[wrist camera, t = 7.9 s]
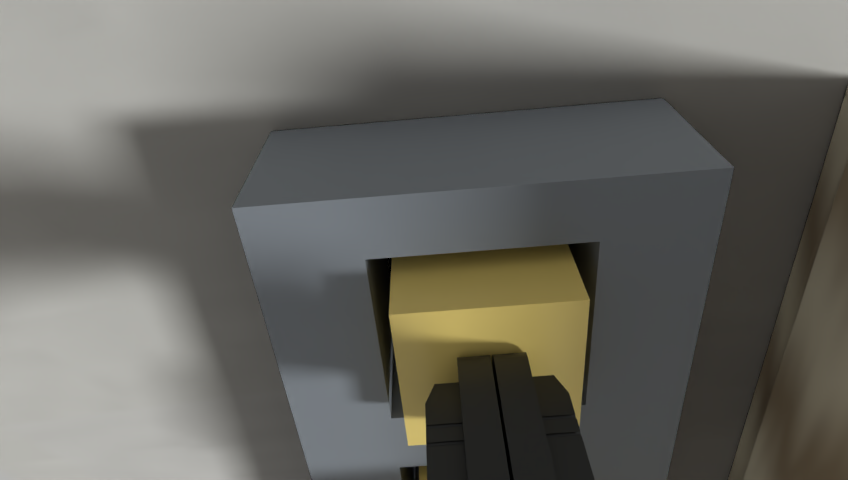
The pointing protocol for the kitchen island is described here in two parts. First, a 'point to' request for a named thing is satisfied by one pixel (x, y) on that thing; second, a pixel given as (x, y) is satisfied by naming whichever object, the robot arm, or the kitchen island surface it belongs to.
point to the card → (807, 348)
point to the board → (477, 231)
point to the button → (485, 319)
